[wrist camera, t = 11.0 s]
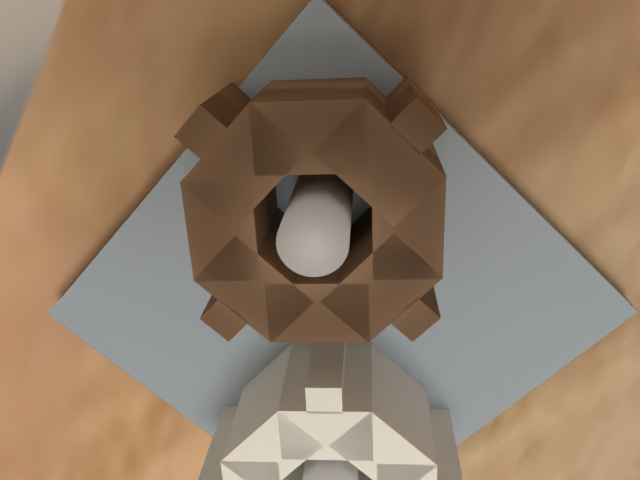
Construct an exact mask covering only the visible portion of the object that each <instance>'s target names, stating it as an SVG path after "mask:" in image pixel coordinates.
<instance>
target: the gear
mask: <svg viewBox="0 0 640 480" xmlns="http://www.w3.org/2000/svg"><path fill="white" fill-rule="evenodd" d="M306 460H348V461H349V462H350V463H351V464H353V465H354V466H355V467H357V468H358V469H359V471H358V480H463V478H462V473H461V468H460V463H459V458H458V453H457V447H456V442H455V437H454V432H453V427H452V422H451V416H450V411H449V408H429V401H428V395H427V389H426V388H425V387H424V386H422V385H421V384H420V383H419V382H418V381H416V380H415V379H414V378H413V377H412V376H411V375H409V374H408V373H407V372H406V371H405V370H403V369H402V368H401V367H400V366H399V365H398V364H396V363H395V362H394V361H393V360H392V359H390V358H389V357H388V356H387V355H386V354H384V353H383V352H382V351H381V350H380V349H379V348H377V347H376V346H375V345H374V344H373V343H372V342H369V343H368V342H292V343H291V344H290V345H289V346H288V347H287V348H286V349H285V350H284V351H283V352H282V353H280V354H279V355H278V356H277V357H276V358H275V359H274V360H273V361H272V362H271V363H270V364H269V365H267V366H266V367H265V368H264V369H263V370H262V371H261V372H260V373H259V374H258V375H257V376H256V377H254V378H253V379H252V380H251V381H250V382H249V383H248V384H247V385H246V386H245V387H243V390H242V393H241V397H240V400H239V403H238V406H224V407H223V410H222V413H221V416H220V419H219V422H218V425H217V427H216V430H215V433H214V436H213V439H212V442H211V445H210V448H209V450H208V453H207V456H206V459H205V462H204V465H203V468H202V471H201V473H200V476H199V479H198V480H302V479H303V471H304V464H305V461H306Z"/></svg>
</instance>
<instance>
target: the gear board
mask: <svg viewBox="0 0 640 480" xmlns="http://www.w3.org/2000/svg"><path fill="white" fill-rule="evenodd" d="M358 77H366V78H367V79H368V80H369V81H370V82H371V83H372V84H373V85H374V86H375V87H376V88H377V89H378V90H379V91H380V92H381V93H382V94H383V95H384V96H385V97H387V96H388V95H389V94H390V93H391V92H392V91H393V90H394V89H395V88H396V87H397V86H398V85H399V84H400V82H401V81H402V80H403V79H404V77H403V76H402V75H401V74H400V73H399V72H398V71H396V70H395V69H394V68H393V67H392V66H391V65H390V64H389V63H388V62H387V61H386V60H385V59H384V58H383V57H382V56H381V55H380V54H379V53H378V52H377V51H376V50H375V49H374V48H373V47H372V46H371V45H370V44H369V43H368V42H367V41H366V40H365V39H364V38H363V37H362V36H361V35H360V34H359V33H358V32H357V31H356V30H355V29H354V28H353V27H352V26H351V25H350V24H349V23H348V22H347V21H346V20H345V19H344V18H343V17H342V16H341V15H340V14H339V13H338V12H337V11H336V10H335V9H334V8H333V7H332V6H331V5H330V4H329V3H328V2H327V1H326V0H311V1H310V2H309V3H308V4H307V6H306V7H305V8H304V9H303V10H302V12H301V13H300V14H299V15H298V16H297V18H296V19H295V20H294V21H293V22H292V24H291V25H290V26H289V27H288V28H287V30H286V31H285V32H284V33H283V34H282V35H281V37H280V38H279V39H278V40H277V41H276V43H275V44H274V45H273V46H272V47H271V49H270V50H269V51H268V52H267V53H266V55H265V56H264V57H263V58H262V59H261V60H260V62H259V63H258V64H257V65H256V66H255V68H254V69H253V70H252V71H251V72H250V74H249V75H248V76H247V77H246V78H245V80H244V81H243V82H242V83H241V84H240V86H239V87H238V88H239V89H241V90H242V91H243V92H244V93H245V94H246V95H247V96H248V97H249V98H250V99H252V98H254V97H255V96H256V95H257V94H258V93H259V92H260V91H261V90H262V89H263V88H264V87H265V86H266V85H268V84H269V83H270V82H271V81H272V80H273V81H277V80H304V79H331V78H358ZM438 113H439V112H438ZM439 114H440V113H439ZM440 116H441V118H442V120H443V121H444V123H445V125H446V127H447V129H446V130H445V131H444V132H443V133H442V134H441V135H440V136H439V137H438V138H437V139H436V140H435V141H434V142H433V146H434V148H435V150H436V153H437V155H438V157H439V160H440V162H441V164H442V167H443V169H444V172H445V174H446V176H447V178H446V201H445V229H444V256H443V279H442V280H440V281H439V282H438V283H437V284H436V285H435V286H434V290H435V294H436V299H437V303H438V308H439V312H440V317H441V318H440V319H439V320H438V321H437V322H436V323H435V324H433V325H432V326H431V327H430V328H429V329H427V330H426V331H425V332H424V333H423V334H421V335H420V336H419V337H418V338H417V339H415V340H414V341H413V342H412V341H410V340H409V339H408V338H407V337H406V336H405V335H404V334H402V333H401V332H400V331H399V330H398V329H397V328H395V327H394V326H393V325H392V324H390V325H389V326H387V327H386V328H385V329H384V330H383V331H382V332H380V333H379V334H378V335H377V336H376V337H375V338H374V339H372V340H371V341H370V342H372V343H373V344H374V345H375V346H376V347H377V348H379V349H380V350H381V351H382V352H383V353H384V354H386V355H387V356H388V357H389V358H390V359H392V360H393V361H394V362H395V363H396V364H398V365H399V366H400V367H401V368H402V369H403V370H405V371H406V372H407V373H408V374H409V375H411V376H412V377H413V378H414V379H415V380H416V381H418V382H419V383H420V384H421V385H422V386H424V387H425V388H426V389H427V395H428V401H429V408H449V411H450V416H451V422H452V427H453V432H454V437H455V442H456V446H457V445H458V444H460V443H461V442H462V441H464V440H465V439H466V438H468V437H469V436H470V435H472V434H473V433H474V432H476V431H477V430H479V429H480V428H481V427H483V426H484V425H485V424H487V423H488V422H489V421H491V420H492V419H493V418H495V417H496V416H497V415H499V414H500V413H502V412H503V411H504V410H506V409H507V408H508V407H510V406H511V405H512V404H514V403H515V402H516V401H518V400H519V399H521V398H522V397H523V396H525V395H526V394H527V393H529V392H530V391H531V390H533V389H534V388H535V387H537V386H538V385H540V384H541V383H542V382H544V381H545V380H546V379H548V378H549V377H550V376H552V375H553V374H554V373H556V372H557V371H559V370H560V369H561V368H563V367H564V366H565V365H567V364H568V363H569V362H571V361H572V360H573V359H575V358H576V357H577V356H579V355H580V354H582V353H583V352H584V351H586V350H587V349H588V348H590V347H591V346H592V345H594V344H595V343H596V342H598V341H599V340H601V339H602V338H603V337H605V336H606V335H607V334H609V333H610V332H611V331H613V330H614V329H615V328H617V327H618V326H620V325H621V324H622V323H624V322H625V321H626V320H628V319H629V318H630V317H632V316H633V315H634V314H636V313H637V312H638V311H637V310H636V309H635V308H634V306H633V305H632V304H631V303H630V302H629V301H628V299H627V298H626V297H625V296H624V295H623V294H622V293H621V292H620V291H619V290H618V289H617V288H616V287H615V286H614V285H613V284H612V283H611V282H610V281H609V280H608V279H607V278H606V277H605V276H604V275H603V274H602V273H601V272H600V271H599V270H598V269H597V268H596V267H595V266H594V265H593V264H592V263H591V262H590V261H589V260H588V259H587V258H586V257H585V256H584V255H583V254H582V253H581V252H580V251H579V250H578V249H577V248H576V247H575V246H574V245H573V244H572V243H571V242H570V241H569V240H568V239H567V238H566V237H565V236H564V235H562V234H561V233H560V232H559V231H558V230H557V229H556V228H555V227H554V226H553V225H552V224H551V223H550V222H549V221H548V220H547V219H546V218H545V217H544V216H543V215H542V214H541V213H540V212H539V211H538V210H537V209H536V208H535V207H534V206H533V205H532V204H531V203H530V202H529V201H528V200H527V199H526V198H525V197H524V196H523V195H522V194H521V193H520V192H519V191H518V190H517V189H516V188H515V187H514V186H513V185H512V184H511V183H510V182H509V181H508V180H507V179H506V178H505V177H504V176H503V175H502V174H501V173H500V172H499V171H498V170H497V169H496V168H495V167H494V166H493V165H492V164H491V163H490V162H489V161H488V160H487V159H486V158H485V157H484V156H483V155H482V154H481V153H479V152H478V151H477V150H476V149H475V148H474V147H473V146H472V145H471V144H470V143H469V142H468V141H467V140H466V139H465V138H464V137H463V136H462V135H461V134H460V133H459V132H458V131H457V130H456V129H455V128H454V127H453V126H452V125H451V124H450V123H449V122H448V121H447V120H446V119H445V118H444V117H443V116H442V115H441V114H440ZM199 160H200V158H199V157H197V156H196V155H195V154H194V153H193V152H192V151H190V150H189V149H188V148H187V149H186V150H185V151H184V152H183V153H182V155H181V156H180V157H179V158H178V159H177V161H176V162H175V163H174V164H173V165H172V167H171V168H170V169H169V170H168V171H167V172H166V174H165V175H164V176H163V177H162V178H161V180H160V181H159V182H158V183H157V184H156V186H155V187H154V188H153V189H152V190H151V192H150V193H149V194H148V195H147V196H146V198H145V199H144V200H143V201H142V202H141V203H140V205H139V206H138V207H137V208H136V209H135V211H134V212H133V213H132V214H131V215H130V217H129V218H128V219H127V220H126V221H125V223H124V224H123V225H122V226H121V227H120V228H119V230H118V231H117V232H116V233H115V234H114V236H113V237H112V238H111V239H110V240H109V242H108V243H107V244H106V245H105V246H104V248H103V249H102V250H101V251H100V252H99V254H98V255H97V256H96V257H95V258H94V259H93V261H92V262H91V263H90V264H89V265H88V267H87V268H86V269H85V270H84V271H83V273H82V274H81V275H80V276H79V277H78V279H77V280H76V281H75V282H74V283H73V285H72V286H71V287H70V288H69V289H68V290H67V292H66V293H65V294H64V295H63V296H62V298H61V299H60V300H59V301H58V302H57V304H56V305H55V306H54V307H53V308H52V310H51V311H50V312H49V313H48V315H50V316H51V317H52V318H54V319H55V320H56V321H58V322H59V323H60V324H62V325H63V326H64V327H66V328H67V329H68V330H70V331H71V332H72V333H74V334H75V335H76V336H78V337H79V338H80V339H82V340H83V341H84V342H86V343H87V344H89V345H90V346H91V347H93V348H94V349H95V350H97V351H98V352H99V353H101V354H102V355H103V356H105V357H106V358H107V359H109V360H110V361H111V362H113V363H114V364H115V365H117V366H118V367H119V368H121V369H122V370H124V371H125V372H126V373H128V374H129V375H130V376H132V377H133V378H134V379H136V380H137V381H138V382H140V383H141V384H142V385H144V386H145V387H146V388H148V389H149V390H150V391H152V392H153V393H154V394H156V395H157V396H158V397H160V398H161V399H163V400H164V401H165V402H167V403H168V404H169V405H171V406H172V407H173V408H175V409H176V410H177V411H179V412H180V413H181V414H183V415H184V416H185V417H187V418H188V419H189V420H191V421H192V422H193V423H195V424H196V425H198V426H199V427H200V428H202V429H203V430H204V431H206V432H207V433H208V434H210V435H211V436H212V437H213V436H214V433H215V430H216V427H217V425H218V422H219V419H220V416H221V413H222V410H223V407H224V406H238V403H239V400H240V397H241V393H242V390H243V387H245V386H246V385H247V384H248V383H249V382H250V381H251V380H252V379H253V378H254V377H256V376H257V375H258V374H259V373H260V372H261V371H262V370H263V369H264V368H265V367H266V366H267V365H269V364H270V363H271V362H272V361H273V360H274V359H275V358H276V357H277V356H278V355H279V354H280V353H282V352H283V351H284V350H285V349H286V348H287V347H288V346H289V345H290V344H291V343H292V342H269V341H268V340H267V339H266V338H264V337H263V336H262V335H261V334H259V333H258V332H257V331H256V330H254V329H253V328H252V327H251V326H249V325H248V324H247V325H246V326H245V327H244V328H242V329H241V330H240V331H239V332H238V333H237V334H236V335H235V336H234V337H233V338H232V339H231V340H230V341H229V342H228V341H227V340H226V339H224V338H223V337H222V336H221V335H219V334H218V333H217V332H215V331H214V330H213V329H212V328H210V327H209V326H208V325H207V324H205V323H204V322H203V321H202V320H200V317H201V315H202V313H203V311H204V309H205V307H206V305H207V303H208V301H209V299H210V297H211V294H210V293H209V292H207V291H206V290H205V289H204V288H202V287H201V286H200V285H199V284H197V283H196V282H195V281H194V280H193V272H192V265H191V257H190V250H189V243H188V236H187V229H186V222H185V214H184V207H183V200H182V193H181V186H180V182H181V180H182V179H183V178H184V177H185V176H186V175H187V174H188V173H189V172H190V171H191V170H192V168H193V167H194V166H195V165H196V164H197V163H198V161H199ZM276 194H277V207H278V208H279V209H281V210H282V211H283V212H284V216H283V219H282V221H281V224H280V227H279V229H278V232H277V236H276V248H277V252H278V254H279V257H280V258H281V260H282V262H283V263H284V264H285V265H286V266H287V267H288V268H289V269H291V270H292V271H294V272H295V273H298V274H300V275H303V276H307V277H320V276H325V275H328V274H330V273H332V272H334V271H335V270H337V269H338V268H339V267H340V266H341V265H342V264H343V262H344V261H345V259H346V257H347V255H348V252H349V244H350V230H351V225H352V224H353V223H354V222H355V221H356V220H357V219H358V218H359V217H360V216H361V215H362V214H363V213H364V212H365V211H366V210H367V209H368V208H369V207H370V205H369V204H368V203H367V202H366V201H365V200H364V199H362V198H361V197H360V196H359V195H358V194H357V193H356V192H355V191H354V190H353V189H351V188H350V187H349V186H348V185H347V184H346V183H345V182H344V181H343V180H342V179H340V178H339V177H338V176H337V175H336V174H318V175H285V176H284V177H283V178H282V179H281V180H280V182H279V183H278V184H277V185H276ZM358 471H359V469H358V468H357V467H355V466H354V465H353V464H351V463H350V462H349V461H348V460H306V461H305V464H304V471H303V479H302V480H358Z"/></svg>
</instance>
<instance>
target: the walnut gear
mask: <svg viewBox="0 0 640 480" xmlns="http://www.w3.org/2000/svg"><path fill="white" fill-rule="evenodd" d="M446 129H447V127H446V125H445V123H444V121H443V120H442V118H441V116H440V114H439V113H438V111H437V109H436V108H435V106H434V104H433V102H432V101H431V100H430V99H429V98H428V97H427V96H426V95H425V94H424V93H423V92H422V91H421V90H420V89H419V88H418V87H417V86H416V85H415V84H414V83H413V82H412V81H411V80H410V79H409V78H408V77H407V76H406V77H405V78H404V79H403V80H402V81H401V82H400V84H399V85H398V86H397V87H396V88H395V89H394V90H393V91H392V92H391V93H390V94H389V95H388V96H387V97H385V96H384V95H383V94H382V93H381V92H380V91H379V90H378V89H377V88H376V87H375V86H374V85H373V84H372V83H371V82H370V81H369V80H368V79H367V78H366V77H358V78H331V79H304V80H277V81H273V80H272V81H271V82H270V83H269V84H268V85H266V86H265V87H264V88H263V89H262V90H261V91H260V92H259V93H258V94H257V95H256V96H255V97H254V98H252V99H250V98H249V97H248V96H247V95H246V94H245V93H244V92H243V91H242V90H241V89H239V88H238V87H237V86H236V85H235V84H234V83H231V84H230V85H229V86H227V87H226V88H224V89H223V90H221V91H220V92H218V93H217V94H215V95H214V96H212V97H211V98H209V99H208V100H206V101H205V102H203V103H202V104H201V105H200V106H199V107H198V108H197V109H196V110H195V112H194V113H193V114H192V115H191V117H190V118H189V119H188V120H187V121H186V123H185V124H184V125H183V126H182V127H181V129H180V130H179V131H178V132H177V134H176V135H175V136H174V137H175V138H177V139H178V140H179V141H180V142H181V143H182V144H183V145H185V146H186V147H187V148H188V149H189V150H190V151H192V152H193V153H194V154H195V155H196V156H197V157H199V158H200V160H199V161H198V163H197V164H196V165H195V166H194V167H193V168H192V170H191V171H190V172H189V173H188V174H187V175H186V176H185V177H184V178H183V179H182V180H181V182H180V186H181V193H182V200H183V207H184V214H185V222H186V229H187V236H188V243H189V250H190V257H191V265H192V272H193V280H194V281H195V282H196V283H197V284H199V285H200V286H201V287H202V288H204V289H205V290H206V291H207V292H209V293H210V294H211V297H210V299H209V301H208V303H207V305H206V307H205V309H204V311H203V313H202V315H201V317H200V320H202V321H203V322H204V323H205V324H207V325H208V326H209V327H210V328H212V329H213V330H214V331H215V332H217V333H218V334H219V335H221V336H222V337H223V338H224V339H226V340H227V341H228V342H229V341H230V340H231V339H232V338H233V337H234V336H235V335H236V334H237V333H238V332H239V331H240V330H241V329H242V328H244V327H245V326H246V325H247V324H248V325H249V326H251V327H252V328H253V329H254V330H256V331H257V332H258V333H259V334H261V335H262V336H263V337H264V338H266V339H267V340H268V341H269V342H368V343H369V342H370V341H371V340H372V339H374V338H375V337H376V336H377V335H378V334H379V333H380V332H382V331H383V330H384V329H385V328H386V327H387V326H389V325H390V324H392V325H393V326H394V327H395V328H397V329H398V330H399V331H400V332H401V333H402V334H404V335H405V336H406V337H407V338H408V339H409V340H410V341H412V342H413V341H414V340H415V339H417V338H418V337H419V336H420V335H421V334H423V333H424V332H425V331H426V330H427V329H429V328H430V327H431V326H432V325H433V324H435V323H436V322H437V321H438V320H439V319H440V318H441V317H440V312H439V308H438V303H437V299H436V294H435V290H434V286H435V285H436V284H437V283H438V282H439V281H440V280H442V279H443V256H444V229H445V201H446V178H447V176H446V174H445V172H444V169H443V167H442V164H441V162H440V160H439V157H438V155H437V153H436V150H435V148H434V146H433V142H434V141H435V140H436V139H437V138H438V137H439V136H440V135H441V134H442V133H443V132H444V131H445V130H446ZM318 174H336V175H337V176H338V177H339V178H340V179H342V180H343V181H344V182H345V183H346V184H347V185H348V186H349V187H350V188H351V189H353V190H354V191H355V192H356V193H357V194H358V195H359V196H360V197H361V198H362V199H364V200H365V201H366V202H367V203H368V204H369V205H370V207H369V208H368V209H367V210H366V211H365V212H364V213H363V214H362V215H361V216H360V217H359V218H358V219H357V220H356V221H355V222H354V223H353V224H352V225H351V230H350V244H349V252H348V255H347V257H346V259H345V261H344V262H343V264H342V265H341V266H340V267H339V268H338V269H337V270H335V271H334V272H332V273H330V274H328V275H325V276H320V277H307V276H303V275H300V274H298V273H295V272H294V271H292V270H291V269H289V268H288V267H287V266H286V265H285V264H284V263H283V262H282V260H281V258H280V257H279V254H278V252H277V248H276V236H277V232H278V229H279V227H280V224H281V221H282V219H283V216H284V212H283V211H282V210H281V209H279V208H278V207H277V194H276V185H277V184H278V183H279V182H280V180H281V179H282V178H283V177H284V176H285V175H318Z"/></svg>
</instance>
